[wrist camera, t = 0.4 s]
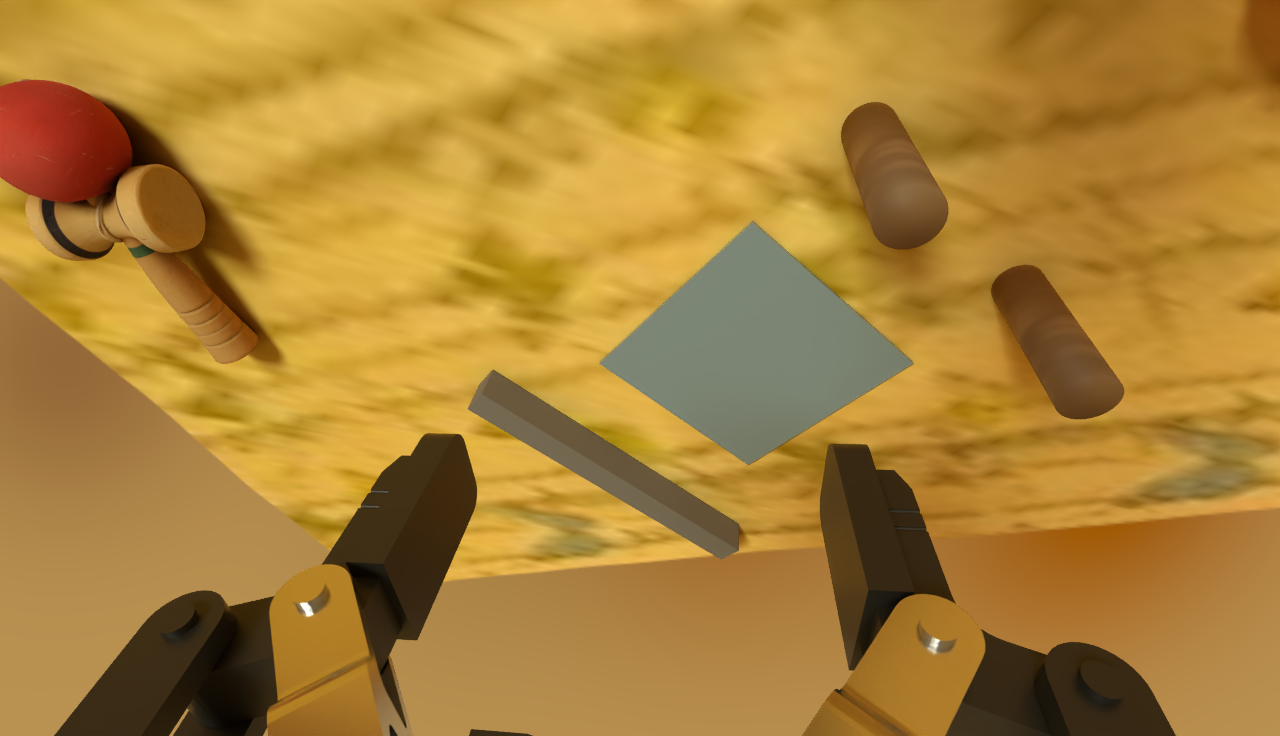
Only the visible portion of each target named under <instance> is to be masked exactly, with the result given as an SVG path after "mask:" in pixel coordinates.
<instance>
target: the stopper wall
mask: <svg viewBox="0 0 1280 736" xmlns="http://www.w3.org/2000/svg"><path fill="white" fill-rule="evenodd" d="M468 410H470V411H472V412H473V413H475V414H477V415H478V416H480V417H482V418H484V419H485V420H487V421H489V422H490V423H492V424H494V425H495V426H497V427H499V428H500V429H502V430H504V431H505V432H507V433H509V434H511V435H512V436H514V437H516V438H517V439H519V440H521V441H522V442H524V443H526V444H527V445H529V446H531V447H532V448H534V449H536V450H538V451H539V452H541V453H543V454H544V455H546V456H548V457H549V458H551V459H553V460H554V461H556V462H558V463H559V464H561V465H563V466H565V467H566V468H568V469H570V470H571V471H573V472H575V473H576V474H578V475H580V476H581V477H583V478H585V479H586V480H588V481H590V482H592V483H593V484H595V485H597V486H598V487H600V488H602V489H603V490H605V491H607V492H608V493H610V494H612V495H613V496H615V497H617V498H619V499H620V500H622V501H624V502H625V503H627V504H629V505H630V506H632V507H634V508H635V509H637V510H639V511H640V512H642V513H644V514H646V515H647V516H649V517H651V518H652V519H654V520H656V521H657V522H659V523H661V524H662V525H664V526H666V527H667V528H669V529H671V530H673V531H674V532H676V533H678V534H679V535H681V536H683V537H684V538H686V539H688V540H689V541H691V542H693V543H694V544H696V545H698V546H699V547H701V548H703V549H705V550H706V551H708V552H710V553H711V554H713V555H715V556H716V557H718V558H720V559H723V558H725V557H727V556H729V555H730V554H733V553H735V552H737V551H739V524H738V523H736V522H734V521H733V520H731V519H730V518H728V517H726V516H725V515H723V514H722V513H720V512H718V511H717V510H715V509H714V508H712V507H710V506H709V505H707V504H706V503H704V502H703V501H701V500H699V499H698V498H696V497H695V496H693V495H691V494H690V493H688V492H687V491H685V490H683V489H682V488H680V487H679V486H677V485H675V484H674V483H672V482H671V481H669V480H668V479H666V478H664V477H663V476H661V475H660V474H658V473H656V472H655V471H653V470H652V469H650V468H648V467H647V466H645V465H644V464H642V463H640V462H639V461H637V460H636V459H634V458H633V457H631V456H629V455H628V454H626V453H625V452H623V451H621V450H620V449H618V448H617V447H615V446H613V445H612V444H610V443H609V442H607V441H605V440H604V439H602V438H601V437H599V436H598V435H596V434H594V433H593V432H591V431H590V430H588V429H586V428H585V427H583V426H582V425H580V424H578V423H577V422H575V421H574V420H572V419H570V418H569V417H567V416H566V415H564V414H563V413H561V412H559V411H558V410H556V409H555V408H553V407H551V406H550V405H548V404H547V403H545V402H543V401H542V400H540V399H539V398H537V397H536V396H534V395H532V394H531V393H529V392H528V391H526V390H524V389H523V388H521V387H520V386H518V385H516V384H515V383H513V382H512V381H510V380H508V379H507V378H505V377H504V376H502V375H501V374H499V373H497V372H496V371H494V370H492V371H491V372H490V374H489V375H488V376H487V377H486V378H485V379H484V380H483V381H482V382H481V383H480V385H479V386H478V389H477V391H476V393H475V395H474V397H473V399H472V401H471V403H470V405H469V407H468Z"/></svg>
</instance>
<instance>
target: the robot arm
mask: <svg viewBox="0 0 1280 736" xmlns="http://www.w3.org/2000/svg"><path fill="white" fill-rule="evenodd" d="M476 500H477V485H476V481H475V477H474V473H473V470H472V466H471V463H470V459H469V456H468V452H467V449H466V445H465V442H464V439H463V437H462V436H461V435H460V434H433V433H428V434H425V435H424V436H423V437H422V438H421V440H420V441H419V443H418V444H417V446H416V448H415V449H414V451H413V453H412V454H411V456H401V457H399V458H398V459H397V460H396V461H395V462H393V463H392V464H391V465H390V466H389V467H387V468H386V469H385V470H384V471H383V472H382V473H381V475H380V476H379V478H378V479H377V481H376V482H375V484H374V485H373V487H372V488H371V493H368V495H367V496H366V498H365V499H364V501H363V502H362V504H361V508H358V510H357V511H356V513H355V515H354V516H353V518H352V519H351V521H350V522H349V524H348V525H347V527H346V528H345V530H344V531H343V533H342V535H341V536H340V538H339V539H338V541H337V542H336V544H335V545H334V547H333V548H332V550H331V551H330V553H329V555H328V556H327V558H326V559H325V561H324V562H323V564H322V565H319V566H315V567H312V568H309V569H306V570H304V571H302V572H300V573H299V574H297V575H295V576H294V577H292V578H291V579H290V580H289V581H287V582H286V583H285V584H284V585H283V586H282V587H281V588H280V589H279V590H278V592H277V593H276V595H275V596H273V597H269V598H264V599H260V600H256V601H251V602H247V603H243V604H239V605H235V606H230V607H229V606H228V605H227V604H226V602H225V601H224V599H223V598H222V597H221V596H220V595H219V594H218V593H216V592H213V591H196V592H192V593H189V594H185V595H183V596H181V597H178V598H176V599H174V600H172V601H171V602H169V603H167V604H166V605H164V606H162V607H161V608H160V609H158V610H157V611H156V612H155V613H154V614H153V615H151V616H150V618H148V619H147V621H146V622H145V623H144V624H143V625H142V626H141V628H140V629H139V630H138V631H137V633H136V634H135V635H134V636H133V638H132V639H131V640H130V641H129V643H128V644H127V645H126V646H125V648H124V649H123V650H122V652H121V653H120V654H119V655H118V656H117V658H116V659H115V660H114V661H113V663H112V664H111V665H110V666H109V668H108V669H107V670H106V671H105V673H104V674H103V675H102V677H101V678H100V679H99V680H98V681H97V683H96V684H95V685H94V687H93V688H92V689H91V690H90V692H89V693H88V694H87V695H86V697H85V698H84V699H83V700H82V702H81V703H80V704H79V705H78V707H77V708H76V709H75V710H74V712H73V713H72V714H71V715H70V717H69V718H68V719H67V721H66V722H65V723H64V724H63V725H62V727H61V728H60V729H59V730H58V732H57V733H56V734H55V735H54V736H169V735H170V733H171V732H172V730H173V729H174V727H175V726H176V724H177V723H178V721H179V719H180V718H181V716H182V715H183V713H184V712H185V710H186V709H188V710H189V711H188V713H187V715H186V716H185V718H184V719H183V721H182V722H181V724H180V726H179V727H178V729H177V730H176V732H175V733H174V735H173V736H263V734H264V732H265V730H266V728H267V729H268V736H413V733H412V730H411V726H410V723H409V720H408V716H407V712H406V708H405V705H404V701H403V698H402V694H401V690H400V687H399V683H398V680H397V676H396V672H395V669H394V665H393V662H392V659H391V657H390V655H389V654H390V652H391V650H392V648H393V646H394V644H395V642H396V639H403V640H417V639H418V637H419V635H420V633H421V631H422V628H423V626H424V623H425V621H426V619H427V617H428V615H429V612H430V610H431V608H432V605H433V603H434V601H435V599H436V596H437V594H438V591H439V589H440V587H441V585H442V583H443V580H444V578H445V576H446V573H447V571H448V569H449V567H450V564H451V562H452V560H453V557H454V555H455V553H456V551H457V548H458V546H459V544H460V541H461V539H462V537H463V535H464V532H465V530H466V528H467V525H468V523H469V521H470V519H471V516H472V514H473V512H474V509H475V505H476ZM820 518H821V526H822V531H823V537H824V542H825V547H826V552H827V557H828V562H829V568H830V573H831V579H832V584H833V589H834V594H835V600H836V605H837V610H838V615H839V620H840V625H841V631H842V636H843V641H844V647H845V652H846V657H847V662H848V667H849V670H854V671H853V673H852V674H851V676H850V678H849V679H848V681H847V682H846V684H845V685H844V686H843V687H842V689H841V690H838V689H835V690H834V691H833V692H832V693H831V694H830V695H829V696H828V698H827V699H826V700H825V702H824V703H823V705H822V707H821V708H820V709H819V711H818V713H817V714H816V715H815V717H814V718H813V720H812V721H811V723H810V724H809V726H808V727H807V729H806V731H805V732H804V734H803V735H802V736H1176V735H1175V733H1174V731H1173V730H1172V728H1171V726H1170V724H1169V722H1168V720H1167V719H1166V717H1165V715H1164V713H1163V711H1162V709H1161V707H1160V705H1159V704H1158V702H1157V700H1156V698H1155V696H1154V694H1153V692H1152V691H1151V689H1150V688H1149V686H1148V684H1147V683H1146V682H1145V680H1144V679H1143V678H1142V677H1141V676H1140V675H1139V674H1138V673H1137V672H1136V671H1135V670H1134V669H1133V668H1132V667H1131V666H1130V665H1128V664H1127V663H1126V662H1125V661H1123V660H1122V659H1120V658H1119V657H1117V656H1116V655H1114V654H1112V653H1110V652H1108V651H1106V650H1104V649H1102V648H1099V647H1096V646H1093V645H1090V644H1086V643H1080V642H1068V643H1063V644H1060V645H1057V646H1056V647H1054V648H1053V649H1052V650H1051V651H1050V652H1049V653H1048V655H1045V654H1042V653H1039V652H1036V651H1033V650H1031V649H1027V648H1024V647H1021V646H1018V645H1015V644H1012V643H1009V642H1006V641H1004V640H1001V639H999V638H996V637H994V636H992V635H990V634H988V633H987V632H985V631H983V630H982V629H980V627H979V626H978V624H977V623H976V621H975V620H974V619H973V618H972V617H971V616H970V615H969V614H968V613H967V612H966V611H965V610H964V609H962V608H961V607H960V606H958V605H957V604H956V603H955V601H954V599H953V597H952V595H951V592H950V590H949V587H948V584H947V581H946V579H945V576H944V573H943V571H942V568H941V566H940V563H939V560H938V557H937V555H936V552H935V550H934V547H933V544H932V541H931V539H930V536H929V533H928V532H926V525H925V523H924V520H923V517H922V515H921V514H920V509H919V507H918V504H917V501H916V499H915V496H914V493H913V491H912V489H911V488H910V487H909V485H908V484H907V483H906V482H905V481H904V480H903V479H902V478H901V477H900V476H899V475H898V474H897V473H896V472H895V471H894V470H876V468H875V465H874V462H873V459H872V456H871V453H870V450H869V447H868V446H867V445H862V444H830V445H829V446H828V450H827V456H826V463H825V470H824V476H823V483H822V489H821V496H820ZM469 736H532V735H529V734H523V733H511V732H499V731H486V730H474V729H471V731H470V735H469Z"/></svg>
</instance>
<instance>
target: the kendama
mask: <svg viewBox="0 0 1280 736" xmlns="http://www.w3.org/2000/svg"><path fill="white" fill-rule="evenodd" d="M131 165H132V147H131V143H130V140H129V137H128V134H127V132H126V130H125V129H124V127H123V125H122V124H121V123H120V121H119V120H118V119H117V117H116V116H115V115H114V114H113V113H112V112H111V111H110V110H109V109H108V108H107V107H106V106H105V105H103V104H102V103H101V102H99V101H98V100H97V99H95V98H94V97H92V96H91V95H89V94H87V93H85V92H83V91H81V90H79V89H77V88H75V87H72V86H69V85H66V84H62V83H58V82H52V81H45V80H28V79H21V80H18V81H17V82H14V83H10V84H6V85H4V86H1V87H0V177H1V178H2V179H4V180H5V181H6V182H8V183H9V184H11V185H12V186H14V187H16V188H18V189H20V190H22V191H23V192H25V193H28V194H29V197H28V199H27V202H26V208H25V211H26V215H27V220H28V224H29V226H30V228H31V230H32V232H33V234H34V235H35V237H36V239H37V240H38V241H39V242H40V243H41V244H42V245H43V246H44V247H45V248H46V249H47V250H49V251H50V252H52V253H53V254H55V255H57V256H59V257H61V258H64V259H68V260H74V261H84V260H96V259H99V258H101V257H103V256H105V255H106V254H108V252H109V251H110V250H111V249H112V247H113V245H114V243H115V242H124V243H125V245H126V246H127V247H128V249H129V250H130V252H131V253H132V255H133V256H134V257H135V259H136V260H137V262H138V263H139V265H140V266H141V267H142V269H143V270H144V272H145V273H146V275H147V276H148V277H149V279H150V280H151V281H152V283H153V284H154V285H155V287H156V288H157V289H158V291H159V292H160V293H161V294H162V296H163V297H164V298H165V299H166V301H167V302H168V303H169V304H170V305H171V307H172V308H173V309H174V310H175V311H176V312H177V313H178V315H179V316H180V317H181V318H182V319H183V321H184V322H185V323H186V324H187V325H188V327H189V328H190V329H191V330H192V331H193V332H194V333H195V335H196V336H197V337H198V339H199V340H200V341H201V342H202V343H203V344H204V346H205V347H206V349H207V350H208V351H209V352H210V354H211V355H212V356H213V358H214V359H215V360H216V361H217V362H219V363H222V364H227V363H232V362H235V361H238V360H240V359H242V358H244V357H245V356H246V355H248V354H249V353H250V352H251V351H252V350H253V349H254V348H255V347H256V345H257V343H258V336H257V335H256V334H255V333H254V332H253V331H252V330H251V329H250V328H249V327H248V326H247V325H246V324H245V323H244V322H243V321H241V320H240V318H239V317H238V316H237V315H236V314H235V313H234V312H232V311H231V310H230V308H229V307H228V306H227V305H226V304H225V303H223V302H222V301H221V299H220V298H219V297H218V296H217V295H216V294H215V293H214V292H212V291H211V289H210V288H209V287H208V286H207V285H206V284H205V283H204V282H203V281H202V280H201V279H200V278H199V277H198V276H197V275H196V274H195V273H194V272H193V271H192V270H191V269H190V268H189V267H188V266H186V265H185V264H184V263H183V262H182V261H181V260H180V259H179V258H177V257H176V256H175V255H174V254H173V252H179V251H184V250H189V249H191V248H194V247H196V246H197V245H198V244H199V243H200V242H201V240H202V238H203V236H204V232H205V226H206V223H205V215H204V210H203V207H202V204H201V201H200V199H199V197H198V195H197V194H196V192H195V190H194V189H193V187H192V186H191V185H190V183H189V182H188V181H187V180H186V179H185V178H184V177H183V176H182V175H181V174H180V173H178V172H177V171H176V170H174V169H172V168H170V167H168V166H165V165H161V164H150V165H141V166H134V167H131Z"/></svg>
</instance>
